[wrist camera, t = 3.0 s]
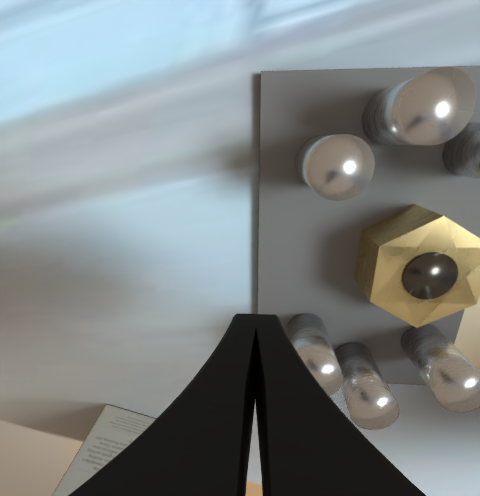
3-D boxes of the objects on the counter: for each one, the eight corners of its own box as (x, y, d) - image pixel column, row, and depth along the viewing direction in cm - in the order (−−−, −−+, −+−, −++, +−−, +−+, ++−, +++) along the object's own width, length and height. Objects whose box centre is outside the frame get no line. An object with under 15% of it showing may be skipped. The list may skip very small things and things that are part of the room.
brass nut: (465, 204, 15) (506, 216, 12) (439, 302, 17) (470, 330, 14) (364, 203, 15) (385, 215, 13) (351, 300, 17) (366, 327, 15)
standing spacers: (513, 85, 13) (619, 62, 9) (431, 375, 18) (475, 434, 15) (299, 90, 13) (315, 70, 10) (284, 369, 19) (290, 425, 15)
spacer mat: (703, 62, 12) (717, 59, 12) (550, 385, 19) (556, 390, 18) (260, 73, 14) (260, 71, 13) (256, 373, 20) (256, 377, 19)
